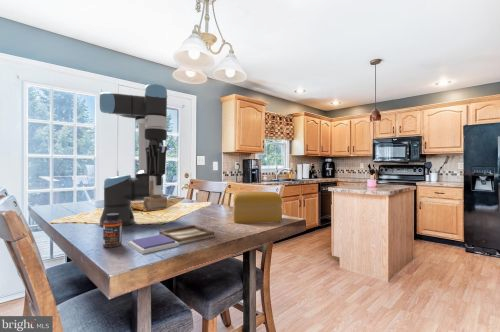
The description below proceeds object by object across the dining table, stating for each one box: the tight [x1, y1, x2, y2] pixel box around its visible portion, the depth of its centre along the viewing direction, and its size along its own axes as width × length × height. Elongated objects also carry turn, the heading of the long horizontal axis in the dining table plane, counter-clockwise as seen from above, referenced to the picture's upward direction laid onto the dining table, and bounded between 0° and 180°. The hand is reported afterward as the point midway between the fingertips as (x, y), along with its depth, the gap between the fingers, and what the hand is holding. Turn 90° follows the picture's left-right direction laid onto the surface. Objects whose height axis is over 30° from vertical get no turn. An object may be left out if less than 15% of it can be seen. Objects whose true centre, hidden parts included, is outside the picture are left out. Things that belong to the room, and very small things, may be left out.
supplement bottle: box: [102, 213, 123, 249], centre depth 93 cm, size 6×6×11 cm
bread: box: [232, 191, 283, 224], centre depth 137 cm, size 24×13×15 cm, turn 96°
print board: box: [158, 224, 215, 245], centre depth 106 cm, size 16×16×2 cm
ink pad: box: [127, 234, 180, 255], centre depth 94 cm, size 13×13×2 cm
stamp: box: [143, 181, 168, 211], centre depth 94 cm, size 6×6×10 cm
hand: (155, 193), depth 94 cm, fingers closed on stamp, 3 cm apart
